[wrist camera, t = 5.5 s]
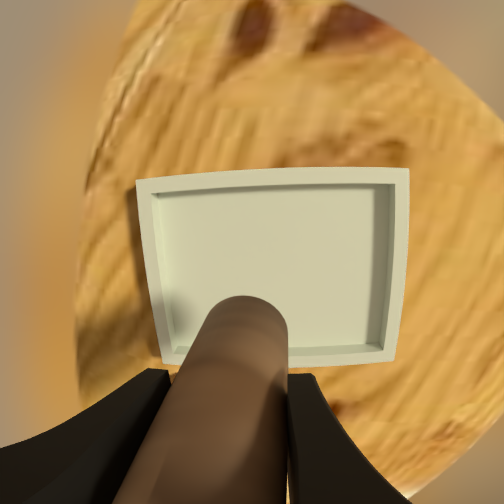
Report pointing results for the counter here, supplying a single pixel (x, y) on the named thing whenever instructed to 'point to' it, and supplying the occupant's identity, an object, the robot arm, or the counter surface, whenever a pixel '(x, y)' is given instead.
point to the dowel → (221, 416)
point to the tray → (281, 255)
